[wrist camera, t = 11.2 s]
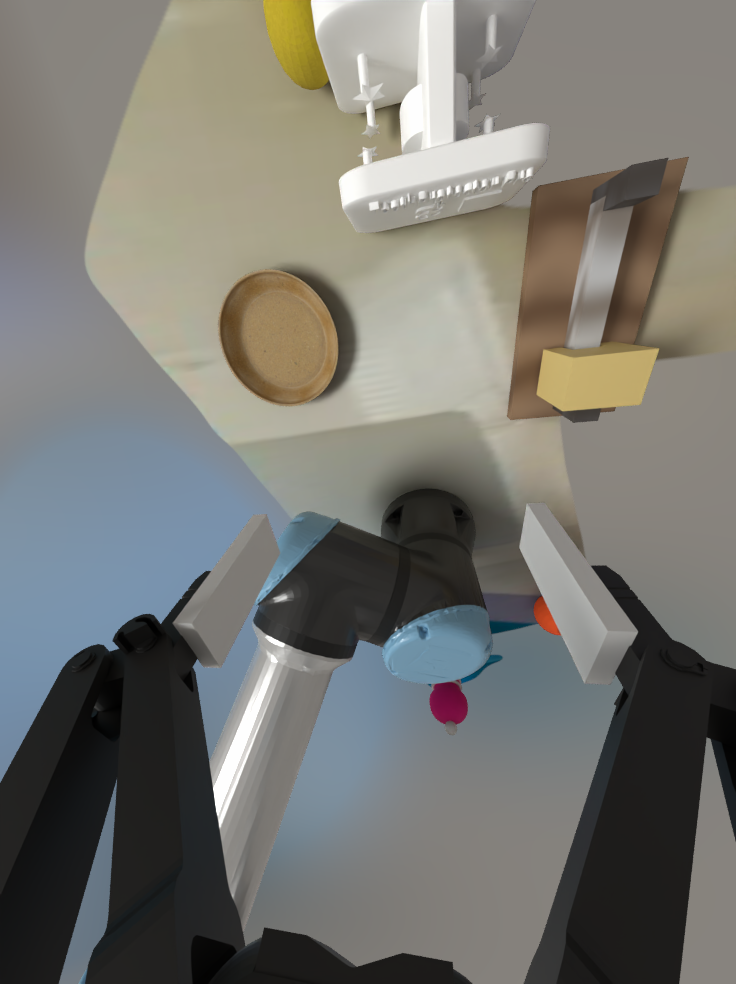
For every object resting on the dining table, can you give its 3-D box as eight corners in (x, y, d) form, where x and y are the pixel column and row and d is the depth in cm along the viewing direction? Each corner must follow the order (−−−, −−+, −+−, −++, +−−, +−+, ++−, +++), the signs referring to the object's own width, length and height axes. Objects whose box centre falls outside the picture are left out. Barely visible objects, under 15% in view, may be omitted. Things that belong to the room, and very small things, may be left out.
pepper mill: (438, 634, 65) (449, 749, 48) (414, 617, 63) (417, 731, 46) (464, 619, 62) (487, 737, 45) (440, 602, 60) (454, 718, 43)
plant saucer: (366, 343, 37) (363, 345, 35) (295, 422, 44) (290, 428, 42) (271, 237, 33) (261, 232, 31) (208, 342, 39) (196, 344, 37)
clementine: (535, 579, 54) (551, 613, 48) (576, 582, 53) (598, 616, 47) (523, 608, 58) (537, 643, 52) (561, 611, 57) (580, 646, 51)
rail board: (607, 407, 38) (645, 425, 32) (507, 416, 40) (525, 434, 34) (675, 163, 27) (752, 122, 21) (532, 191, 29) (565, 160, 23)
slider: (600, 388, 35) (640, 404, 29) (536, 394, 36) (562, 411, 30) (612, 341, 33) (659, 348, 27) (543, 349, 34) (573, 357, 28)
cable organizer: (516, 43, 25) (591, -137, 15) (505, 213, 30) (555, 164, 20) (339, 95, 27) (302, -29, 17) (358, 243, 32) (337, 214, 22)
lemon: (302, -12, 24) (263, -139, 17) (360, 44, 25) (344, -56, 19) (276, 81, 27) (233, 2, 20) (329, 127, 28) (306, 67, 21)
